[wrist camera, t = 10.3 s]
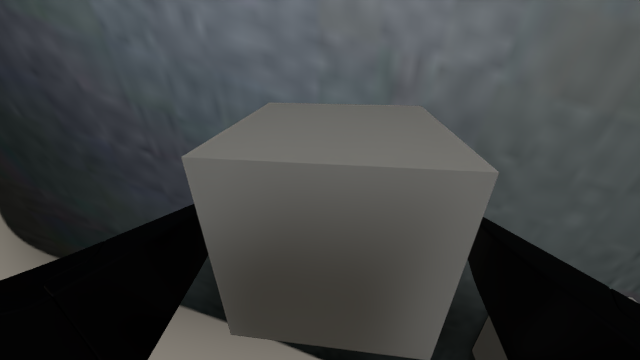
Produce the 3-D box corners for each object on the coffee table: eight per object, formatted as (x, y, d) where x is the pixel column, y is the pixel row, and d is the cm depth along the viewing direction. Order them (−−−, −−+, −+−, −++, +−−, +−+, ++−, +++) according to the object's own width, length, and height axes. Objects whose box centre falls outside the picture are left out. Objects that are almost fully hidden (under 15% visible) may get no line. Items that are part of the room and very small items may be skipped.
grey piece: (421, 105, 11) (499, 172, 5) (398, 229, 14) (430, 360, 8) (269, 102, 11) (181, 157, 6) (280, 220, 14) (231, 334, 9)
